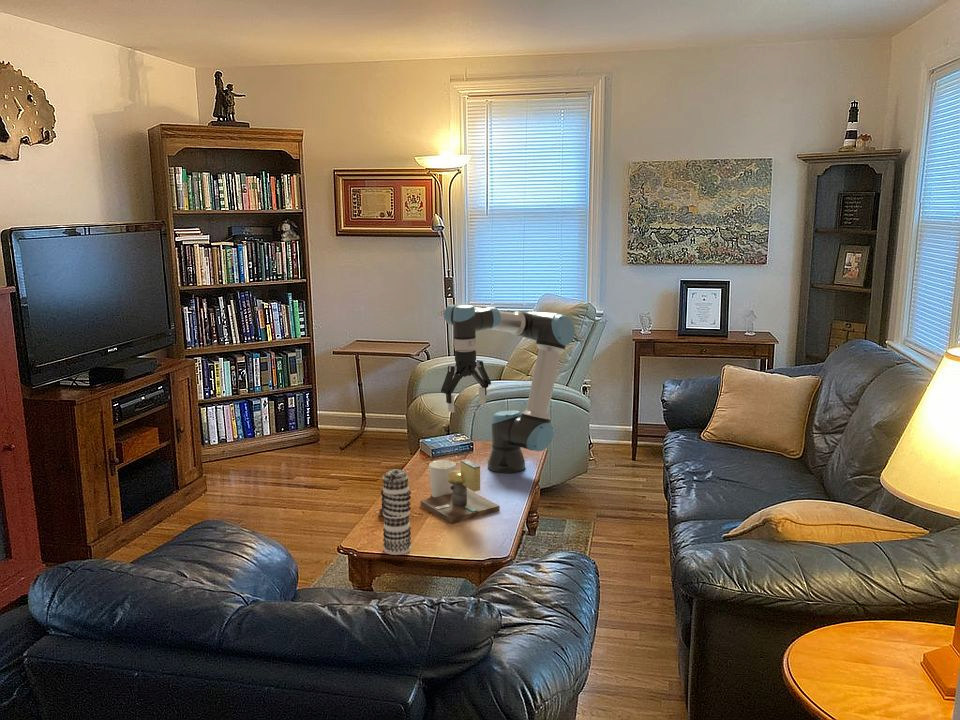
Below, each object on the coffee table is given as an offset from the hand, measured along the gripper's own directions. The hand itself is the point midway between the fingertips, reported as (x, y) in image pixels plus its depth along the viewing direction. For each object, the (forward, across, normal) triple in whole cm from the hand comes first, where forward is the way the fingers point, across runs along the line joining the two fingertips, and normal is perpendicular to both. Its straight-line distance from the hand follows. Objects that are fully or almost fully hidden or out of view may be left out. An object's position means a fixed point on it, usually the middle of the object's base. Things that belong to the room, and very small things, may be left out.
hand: (467, 408), depth 282 cm
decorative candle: (+32, -44, -23) cm, 59 cm away
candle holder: (+34, -7, +7) cm, 35 cm away
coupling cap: (+23, -10, -11) cm, 27 cm away
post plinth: (+33, -10, -7) cm, 35 cm away
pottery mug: (+33, -30, +2) cm, 45 cm away
